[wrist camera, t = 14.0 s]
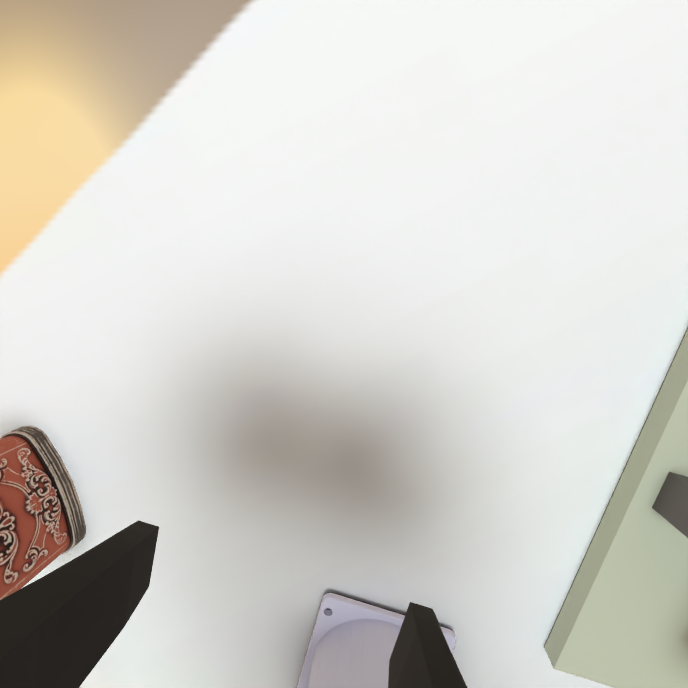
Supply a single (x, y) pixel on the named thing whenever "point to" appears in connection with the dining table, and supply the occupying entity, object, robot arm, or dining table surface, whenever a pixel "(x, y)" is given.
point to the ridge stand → (637, 563)
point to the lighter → (34, 507)
